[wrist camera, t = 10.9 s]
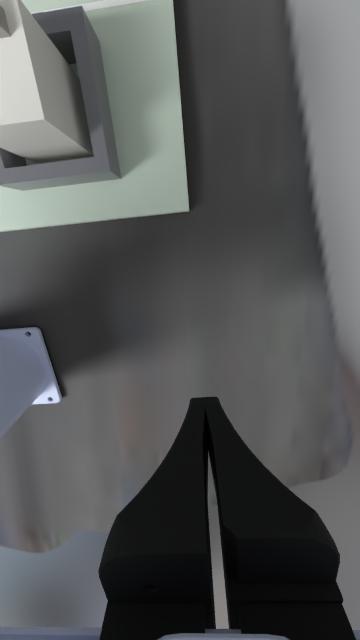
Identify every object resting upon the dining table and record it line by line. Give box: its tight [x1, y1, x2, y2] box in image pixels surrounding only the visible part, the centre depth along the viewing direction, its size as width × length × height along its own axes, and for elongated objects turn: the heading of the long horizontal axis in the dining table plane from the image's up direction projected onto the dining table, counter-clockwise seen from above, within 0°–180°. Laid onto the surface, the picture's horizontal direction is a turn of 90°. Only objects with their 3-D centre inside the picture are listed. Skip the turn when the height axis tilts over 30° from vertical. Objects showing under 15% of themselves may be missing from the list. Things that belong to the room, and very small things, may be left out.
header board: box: [0, 0, 189, 232], centre depth 15 cm, size 16×12×4 cm
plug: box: [0, 0, 94, 163], centre depth 13 cm, size 4×4×7 cm
